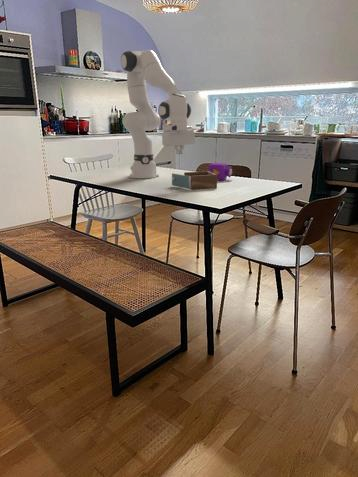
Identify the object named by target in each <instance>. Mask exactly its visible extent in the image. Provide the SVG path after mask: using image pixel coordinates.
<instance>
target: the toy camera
mask: <svg viewBox="0 0 358 477" xmlns="http://www.w3.org/2000/svg"><path fill="white" fill-rule="evenodd" d="M208 171H209V172H211V173H214V174H216V175H217V181H224V180H226V179H227V177H228V178H231V176H232V174H233V168H232V166H228V164H227V162H218V161H214V162H212V163H210V164H209V165H208Z"/></svg>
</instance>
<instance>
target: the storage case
mask: <svg viewBox="0 0 358 477" xmlns="http://www.w3.org/2000/svg"><path fill="white" fill-rule="evenodd" d="M183 175H185V176H191V189H190V190H193V191H194V190H207V189H217V188H218V180H217V175H216V174H214V173H211V172H209V170H206V171H205V170H204V171H189V172H188V171H187V172H185V171H184V173H183Z"/></svg>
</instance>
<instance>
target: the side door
mask: <svg viewBox="0 0 358 477" xmlns="http://www.w3.org/2000/svg"><path fill="white" fill-rule="evenodd" d="M171 185H172V186H175V187H177V188H184V189H187V190H192V189H191V176H185V175H184V174H179V173H174V172H173V173H172V174H171Z"/></svg>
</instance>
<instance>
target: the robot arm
mask: <svg viewBox="0 0 358 477" xmlns="http://www.w3.org/2000/svg"><path fill="white" fill-rule="evenodd" d="M120 63H121V67H122V69H123V71H124V72H126V84H127V85H126V86H127V91H128V98H129V103H130V104H131V105H132V106H133V107H134V108H135V109H136V110H137V111H132V112H128V113H126V114H125V115H124V116H123V119H122V125H123V127H124V129H125V130H126V131H127V132H129V134H130V136H131V139H132V141H133V147H134V149H133V150H134V154H133V160H134V161H133V163H131V164H132V165H130V170H131V172H130V173H129V178H130V179H153V178H157V177H160V174H158V173H157V164H156V162H155V161H154V153H153V142H152V140H151V139H150V138H149V137H148V136H147V134H146V133H147V132H146V131H153V130H154V131H155V130H157V129H159V127H160V126H161V124H162V123H161V122H162V120H164V121H170V122H169V123H168V124H166V125H163V126H162V131H163V132H162V133H161V134H162V135H161V142H162V146H163V147H172V146H173V147H174V150H175V151H176V152H175V153H176V155H182V154H183V150H184V149H185V145H194V144H195V143H196V136H195V128H194V127H193V126H191V125H190V126H188V119H189V118H190V116H191V113H192V107H191V105H190V104H189V102H188V101H187V97H186V95H185V94H182V92H181V91H180V88H179V87H178V85H177V83H176V82H175V81H174V79H173V78H172V77H171V76H170V75H169V74H168V73H167V72H166V70H165V69H164V68H163V64H162V63H161V61H160V59H159V57H158V55H157V53H155V51H153V50H152V49H146V50H145V49H144V50H134V51H133V50H132V51H131V50H128V51H124V52H123V53H122V54H121V56H120ZM147 83H148V85H149V86H151V87H153V88H158V89H160V90H163V91H164V92H166V93H168V95H169V98H168V99H166V100H165V101H161V103H160V104H159V105H158V108H157V112H158V113H157V112H156V110H154V108H153V107H152V104H151V103H150V99H149V94H148V89H147V88H148V87H147Z"/></svg>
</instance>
